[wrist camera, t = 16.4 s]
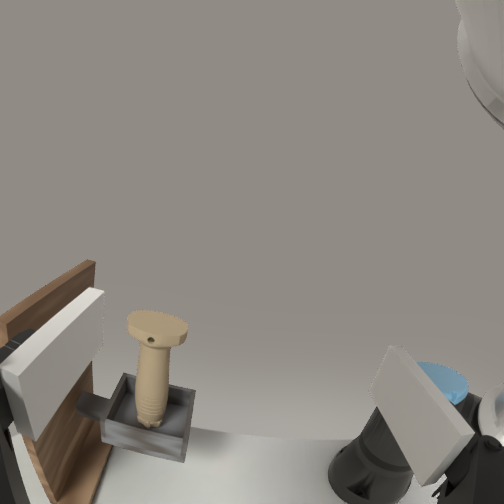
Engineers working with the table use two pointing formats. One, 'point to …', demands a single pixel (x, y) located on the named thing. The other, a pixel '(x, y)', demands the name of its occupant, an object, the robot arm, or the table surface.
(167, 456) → the bracket
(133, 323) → the handle
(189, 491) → the table surface
